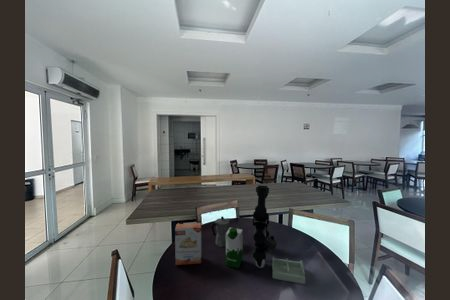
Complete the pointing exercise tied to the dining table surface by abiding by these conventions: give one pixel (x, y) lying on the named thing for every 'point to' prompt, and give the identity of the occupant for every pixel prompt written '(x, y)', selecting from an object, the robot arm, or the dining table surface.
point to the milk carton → (234, 247)
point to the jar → (261, 264)
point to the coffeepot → (221, 231)
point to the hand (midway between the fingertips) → (260, 260)
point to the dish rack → (288, 270)
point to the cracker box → (188, 243)
